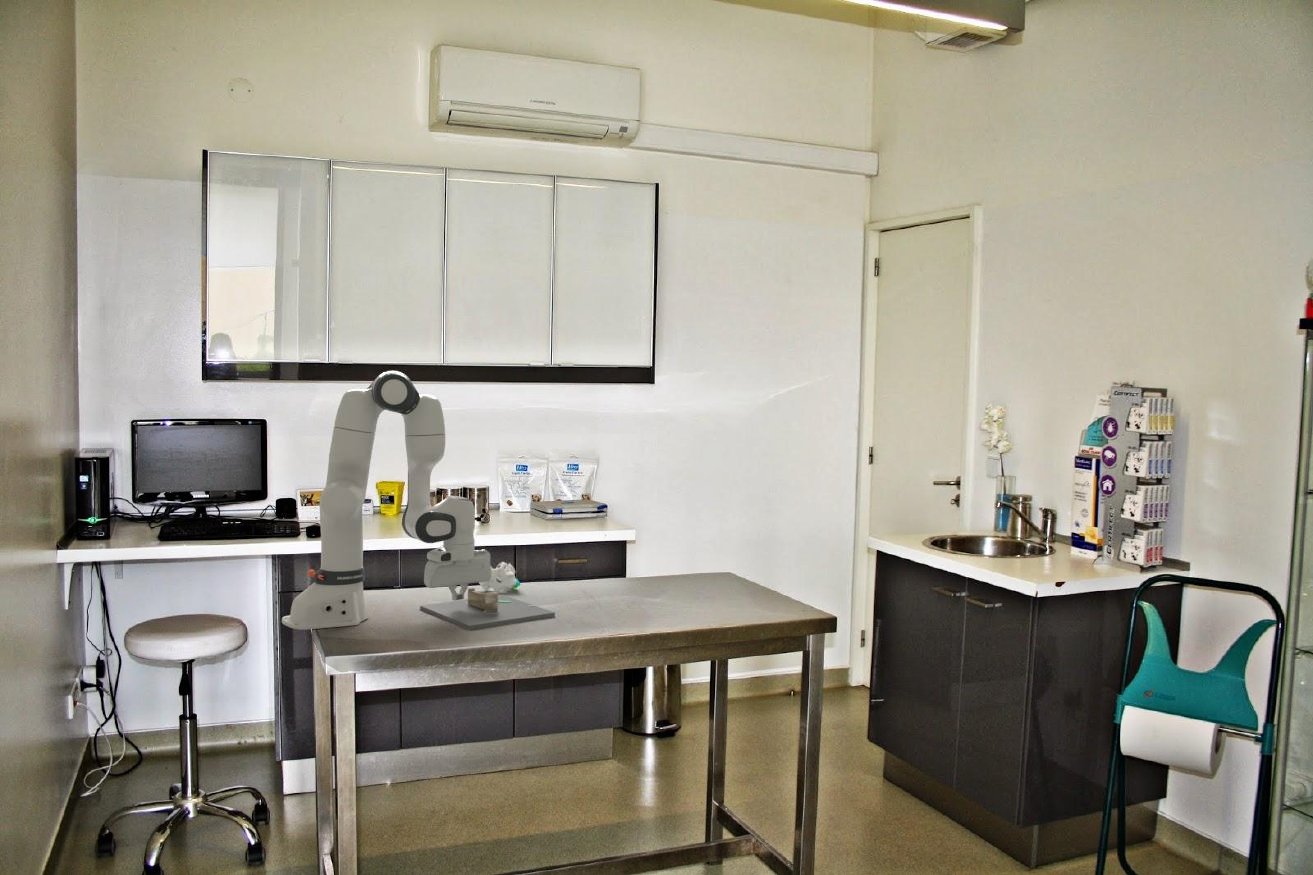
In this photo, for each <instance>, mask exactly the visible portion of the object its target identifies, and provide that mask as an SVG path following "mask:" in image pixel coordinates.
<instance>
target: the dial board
mask: <svg viewBox="0 0 1313 875" xmlns="http://www.w3.org/2000/svg"><path fill="white" fill-rule="evenodd" d="M419 610H420V611H422V612H425V613H427V614H430V615H431V616H434V617H437V618H440V619H442V620H444V621H447V622H449V623H451V624H454V625H456V626H459V627H461V628H464V629H466V630H468V631H472V630H478V629H484V628H490V627H496V626H497V627H498V626H504V625H509V624H511V625H512V624H517V623H521V622H523V623H524V622H529V621H536V620H541V618H543V619H547V618H555V617H556V616H555V615H556V612H554V611H552V610H548V609H546V608H543V607H539V606H537V605H534V604H532V603H528V602H526V601H523V600H519V599H517V598H513V597H510V596H507V595H505V594H498V612H494V613H488V612H485V610H484V609H481V608H478V607H476V606H473V605H470V604H468V598H467V599H462V600H455V601H454V600H451V601H444V602H437V603H431V604H430V603H429V604H423V605H420V606H419Z"/></svg>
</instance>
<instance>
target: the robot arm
mask: <svg viewBox="0 0 1313 875" xmlns="http://www.w3.org/2000/svg"><path fill="white" fill-rule="evenodd" d="M442 408H443V407H442V404H441V402H440V400H439V399H438V398H437V397H436V396H433V395H431V394H425V393H423V394H420V393H419V391H418V390H417V388H416V387H415V385H414V384H413V382H412V380H411V379H410V377H409V376H408V375H407V374H405V373H403V371H399V370H396V369H395V370H393V369H391V370H386V371H383V372H382V373H380V374H379V375H378V376H376V378H374V380H373V381H372V383H371V384H370V385H368V387H367V388H366V389H360V388H356V389H350V390H348V391H346V392H345V393H344V394H343V395H342V398H341V400H340V403H339V404H338V408H337V411H336V416H335V421H334V425H333V432H332V435H331V436H332V437H331V442H330V447H329V453H328V454H329V455H328V467H327V475H326V482H325V487H324V488H323V490H322V491H321V493H320V496H319V524H320V538H321V540H320V542H321V544H320V551H321V552H320V568H318V570H317V571H316V570H314V569H308V571H307V576H308V577H310V578H311V579H312V578H313V579H314V580H313V583H312V584H311V585H309V586H308V587H307V588H306V589H305V590H303V591H302V592H301V593H299V594H298V595H296V596H295V597H294V599H293V600H292V604H291V607H290V614H289V615H285V616H283V617H282V618H281V623H282V624H283V625H284V626H286V627H287V628H291V629H294V630H300V631H301V630H304V631H305V630H306V631H307V630H316V629H317V630H318V629H326V628H327V629H328V628H336V627H338V628H339V627H351V626H358V625H359V624H360V623H361V622H363V621H365V620H367V619H368V618H369V616H368V612H367V608H366V603H365V596H364V586H365V567H364V566H363V565H364V564H363V562H364V556H363V555H364V529H363V528H364V527H363V506H364V503H365V501H366V495H367V489H368V482H369V474H370V467H371V460H372V454H373V448H374V442H375V436H376V431H377V423H378V420H379V417H380V415H381V414H382V413H383V412H384V411H388V412H392V413H395V414H401V416H402V417H403V423H404V442H405V443H404V444H405V453H406V461H407V501H406V506H405V509H404V512H403V514H402V517H401V526H402V529H403V531H404V533H405V535H407V536H408V537H410V538H411V539H415V540H419V542H422V543H426V544H435V543H439V542H440V543H441V542H442V545H440V546H439V547H436V548H434V549H432V550H429V551H428V552H427V554H426V559H427V560H428V561H427V562H426V564H425V566H424V574H423V575H424V576H423V583H424V585H425V586H426V587H427V588H428V589H429V588H430V589H435V588H436V589H437V588H444V587H448V589H449V591H450V593H451V599H452V601H459V600H465V593H466V592H467V591H468V588H469V584H475V583H479V582H484V581H489V580H490V578H491V566H492V565H491V552H490V551H488V550H487V549H479V550H478V549H477V550H475V536H474V531H475V527H476V525H475V524H476V518H475V507H474V506H475V505H474V503H473V501H472V500H471V499H469V498H467V497H463V496H458V495H447V496H446V497H445V499H443V500H441V501H440V502H439V503H437V504H435V505H432V504H431V474H432V471H433V469H434V468H435V467H436V465H437V464H439V462H440V461H441V460H442V459H444V458H443V457H444V456H445V448H446V426H445V419H444V418H445V417H444V412H443V409H442ZM457 586H460V589H459V592H457V590H456V589H457Z"/></svg>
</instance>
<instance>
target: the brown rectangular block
mask: <svg viewBox="0 0 1313 875" xmlns="http://www.w3.org/2000/svg"><path fill="white" fill-rule="evenodd" d="M475 589H476V588H474V587H468V588H467V599H468V604H470V605H473V606H476V607H478V608H481V609H484V610H485V612H488V613H494V612H498V595H499V592H498V593H497V592H495V591H486V592H485V593H484V592H480V591H477V590H475Z"/></svg>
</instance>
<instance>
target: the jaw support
mask: <svg viewBox="0 0 1313 875" xmlns="http://www.w3.org/2000/svg"><path fill="white" fill-rule="evenodd" d="M490 566H491V578H490V580H489V581H484V582H478V583H479V585H480V586H481V587H482V590H484V591H485V592H488V591H489V589H491V588H492V589H493V590H494V591H493V592H497V593H498V594H499V593H500V591H501V590H504V589H508V588H511V589H513V590H514V589H517V588H518V587H519V586H520V585H521V582H520V581H519V579H518V578H516V576H515V574H516V570H515V567H514V566H513V565H512V564H511V562H509V563H508V564H507V562H504V561H501V562H499V563H498V564H497V566H496V568H493V567H492V565H490Z"/></svg>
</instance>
